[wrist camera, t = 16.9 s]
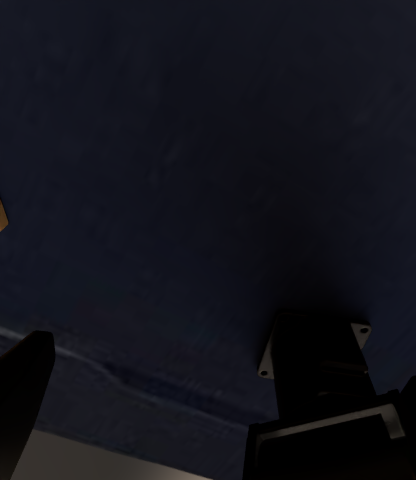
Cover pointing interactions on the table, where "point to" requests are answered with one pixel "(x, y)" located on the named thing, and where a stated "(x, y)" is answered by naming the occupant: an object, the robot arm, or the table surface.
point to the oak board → (2, 217)
